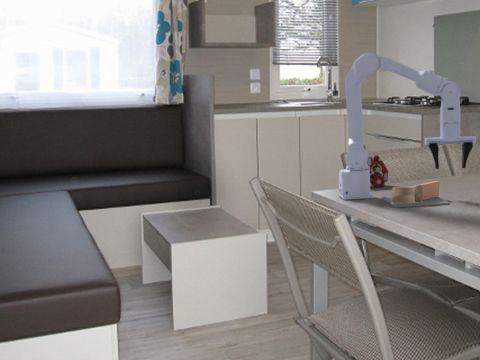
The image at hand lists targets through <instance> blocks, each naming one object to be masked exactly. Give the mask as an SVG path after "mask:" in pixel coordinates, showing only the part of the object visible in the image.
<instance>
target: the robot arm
mask: <svg viewBox="0 0 480 360" xmlns="http://www.w3.org/2000/svg"><path fill="white" fill-rule="evenodd" d="M376 72H381V73H382V72H391V73H394V74H396V75H398V76H400V77H403V78H405V79H408V80H410V81H413V82H414V85H415V87H416V88H417V89H419V90H422V91H424V92H426V93H428V94H431V95H433V96H434V97H437V96H440V98H441V100H440V102H441V103H440V104H441V105H440V108H439V109H440V111H439V112H440V114H439V115H440V119H439V120H440V122H439V123H440V125H439V127H440V128H439V130H440V132H439V133H440V135H439V136H435V137H425V138H424V144H425V146H428V148H429V151H430V152H431V154H432V157H433V161H434V166H435V169H436V170H438V169H440V164H439V163H440V162H439V151H440V149H439V145H454V144H455V145H458V144H459V145H460V144H461V151H462V153H461V154H462V158H461V168H462V169H466V167H467V166H466V165H467V162H468V158H469V155H470V153H471V151H472V149H473V147H474V144H475V145H476V144H477V137H476V136H461V105H460V104H461V99H460V98H461V96H462V90H461V87H460V85H459V84H458V83H457V82H454V81H452V80H450V79H449V77H447V76H446V77H443V76H440V75H438V74H436V73H434V70H432V69H429V70H427V69H424V70H421V71H419V70H416V69H414V68H412V67H409V66H408V65H405V64H404V63H401V62H400V61H397V60H396V59H393V58H391V57H386V56H383V55H377V53H376V54H375V53H374V52H364V53H363V54H361V55H360V56H359V57H357V59H355V61H354V62H353V64H352V66H351V67H350V70H349V71H348V73H347V75H346V77H345V79H344V88H345V89H344V90H345V102H346V103H345V105H346V106H345V107H346V117H347V118H346V119H347V120H346V121H347V133H348V145H347V146H348V151H347V154H346V157H345V161H346V164H347V165H346V167H345V168H344V169H340V170H339V171H338V196H339V197H340V198H341V199H342V200H343V201H344V200H359V199H360V200H361V199H374V198H375V196H374V195H373V194H371V183H370V166H368V165H367V161H368V158H369V156H370V153H369V152H370V151H369V150H368V148H367V146H366V141H365V134H364V118H363V117H364V115H363V102H362V89H361V85H362V84H363V83H364V82H365V81H366V80H367V79H368V77H370V76H372V75H374V74H375V73H376Z"/></svg>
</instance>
